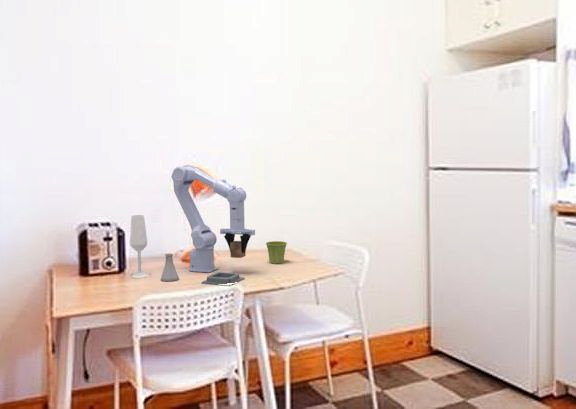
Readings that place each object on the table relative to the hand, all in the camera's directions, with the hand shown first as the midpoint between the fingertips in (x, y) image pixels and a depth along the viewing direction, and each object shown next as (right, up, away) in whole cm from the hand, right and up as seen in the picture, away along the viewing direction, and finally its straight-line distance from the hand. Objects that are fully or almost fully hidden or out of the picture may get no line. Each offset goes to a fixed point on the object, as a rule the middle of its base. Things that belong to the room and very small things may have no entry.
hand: (237, 252), depth 228 cm
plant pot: (+15, -6, +21) cm, 27 cm away
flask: (-25, -10, -9) cm, 29 cm away
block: (0, -2, 0) cm, 2 cm away
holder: (-4, -10, -13) cm, 17 cm away
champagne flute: (-39, -9, -2) cm, 40 cm away
